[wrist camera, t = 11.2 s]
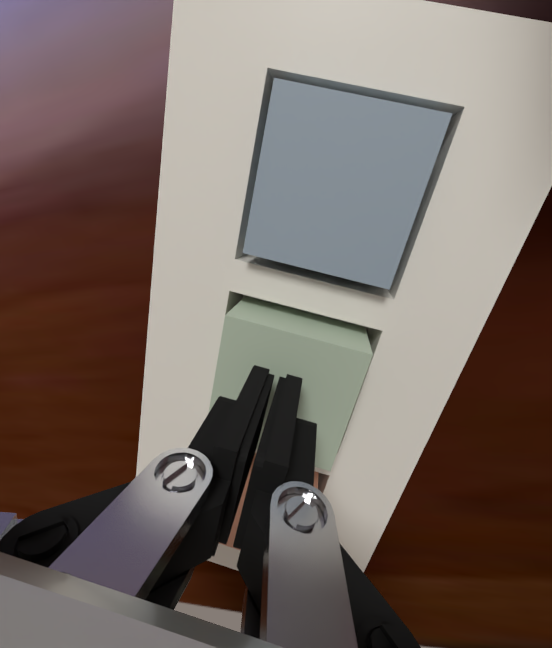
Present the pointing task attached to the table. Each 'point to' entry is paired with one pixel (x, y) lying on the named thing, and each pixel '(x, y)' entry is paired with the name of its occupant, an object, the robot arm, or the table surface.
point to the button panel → (323, 289)
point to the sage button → (296, 364)
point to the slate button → (340, 180)
